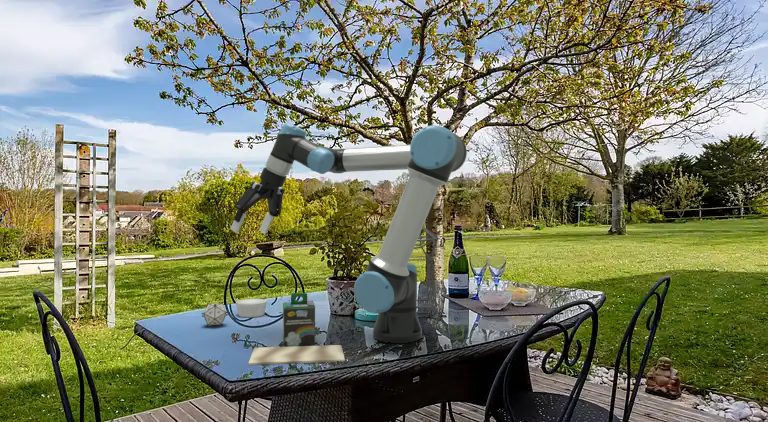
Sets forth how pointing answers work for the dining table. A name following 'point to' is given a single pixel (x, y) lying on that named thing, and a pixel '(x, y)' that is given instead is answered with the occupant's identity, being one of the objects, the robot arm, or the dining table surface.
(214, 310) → the game die
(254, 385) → the dining table surface
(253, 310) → the ramekin
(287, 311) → the chalk box
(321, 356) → the beige mat
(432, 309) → the geometric lantern
